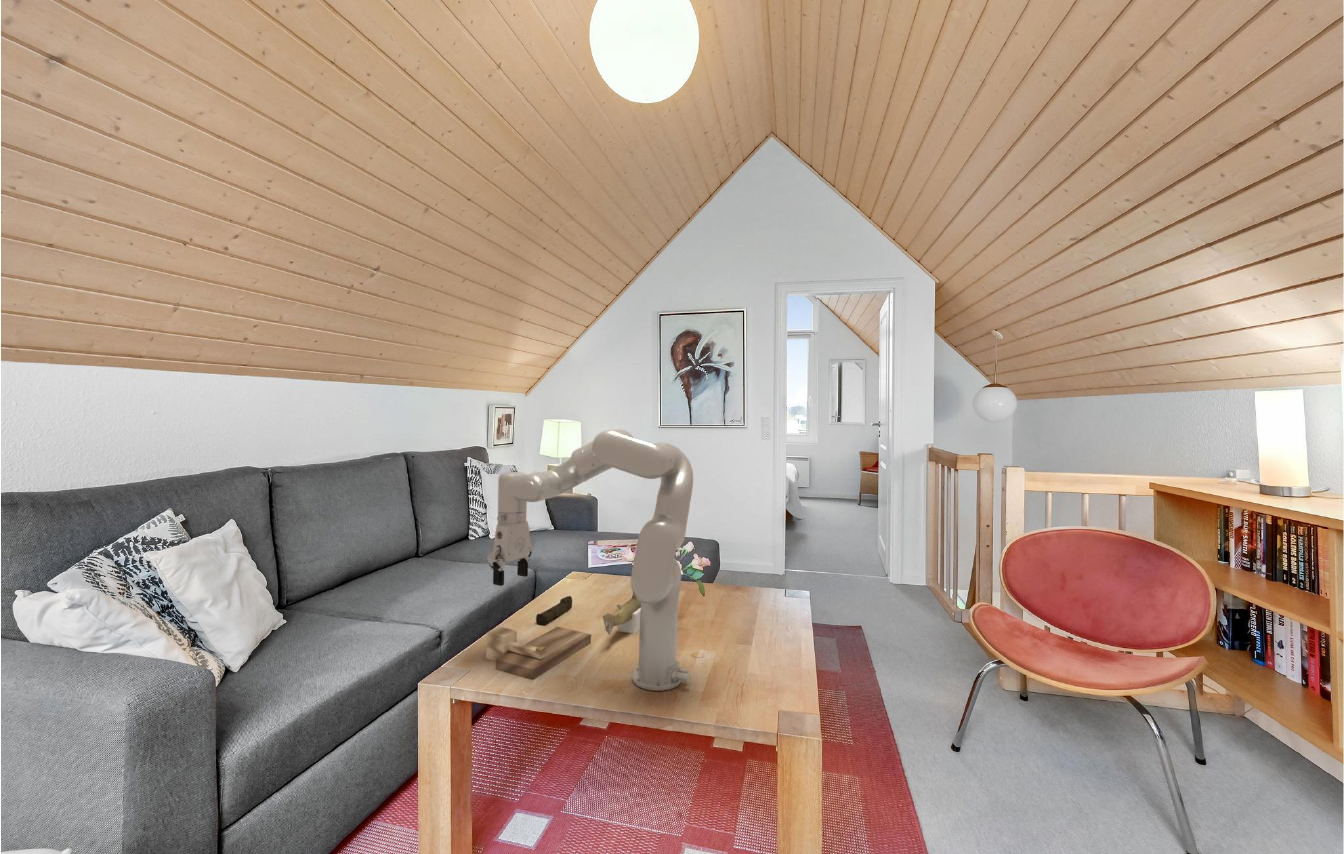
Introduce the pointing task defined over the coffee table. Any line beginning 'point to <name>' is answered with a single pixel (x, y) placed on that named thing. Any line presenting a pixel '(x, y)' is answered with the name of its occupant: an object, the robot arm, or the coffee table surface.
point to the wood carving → (624, 617)
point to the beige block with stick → (509, 645)
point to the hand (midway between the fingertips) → (510, 580)
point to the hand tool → (554, 611)
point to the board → (557, 649)
